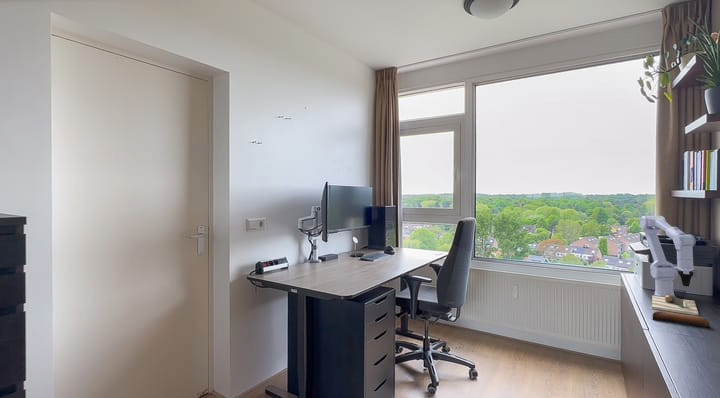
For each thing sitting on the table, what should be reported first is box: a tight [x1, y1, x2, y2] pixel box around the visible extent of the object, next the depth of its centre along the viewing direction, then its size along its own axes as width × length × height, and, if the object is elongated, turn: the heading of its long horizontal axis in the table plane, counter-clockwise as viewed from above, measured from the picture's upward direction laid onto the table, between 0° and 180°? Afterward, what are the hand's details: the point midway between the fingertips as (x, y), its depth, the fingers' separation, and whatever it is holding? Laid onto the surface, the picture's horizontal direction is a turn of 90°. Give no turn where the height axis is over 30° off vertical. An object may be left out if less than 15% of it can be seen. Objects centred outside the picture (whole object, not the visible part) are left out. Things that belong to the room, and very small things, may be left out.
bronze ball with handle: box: [665, 295, 688, 307], centre depth 166 cm, size 11×4×3 cm, turn 176°
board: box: [651, 295, 699, 316], centre depth 167 cm, size 22×16×1 cm
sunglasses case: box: [652, 311, 711, 329], centre depth 147 cm, size 18×7×7 cm
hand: (685, 285), depth 168 cm, fingers closed
